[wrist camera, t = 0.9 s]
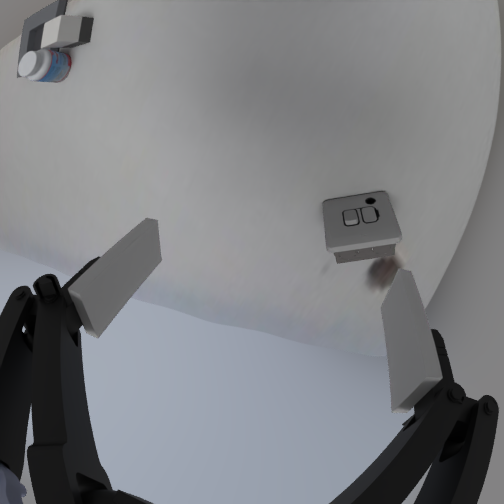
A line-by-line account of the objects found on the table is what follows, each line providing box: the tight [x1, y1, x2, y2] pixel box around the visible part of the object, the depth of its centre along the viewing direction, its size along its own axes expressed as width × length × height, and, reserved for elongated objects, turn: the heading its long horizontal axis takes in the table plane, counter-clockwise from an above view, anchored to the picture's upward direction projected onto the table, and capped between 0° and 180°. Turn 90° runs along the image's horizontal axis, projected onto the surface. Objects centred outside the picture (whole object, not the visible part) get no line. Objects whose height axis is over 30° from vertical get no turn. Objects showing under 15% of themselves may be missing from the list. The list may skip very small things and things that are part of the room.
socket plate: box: [17, 0, 68, 78], centre depth 29 cm, size 15×14×2 cm
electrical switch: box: [323, 192, 402, 264], centre depth 34 cm, size 9×5×9 cm, turn 108°
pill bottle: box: [18, 49, 71, 83], centre depth 28 cm, size 6×6×11 cm
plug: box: [41, 15, 94, 48], centre depth 26 cm, size 5×5×8 cm
